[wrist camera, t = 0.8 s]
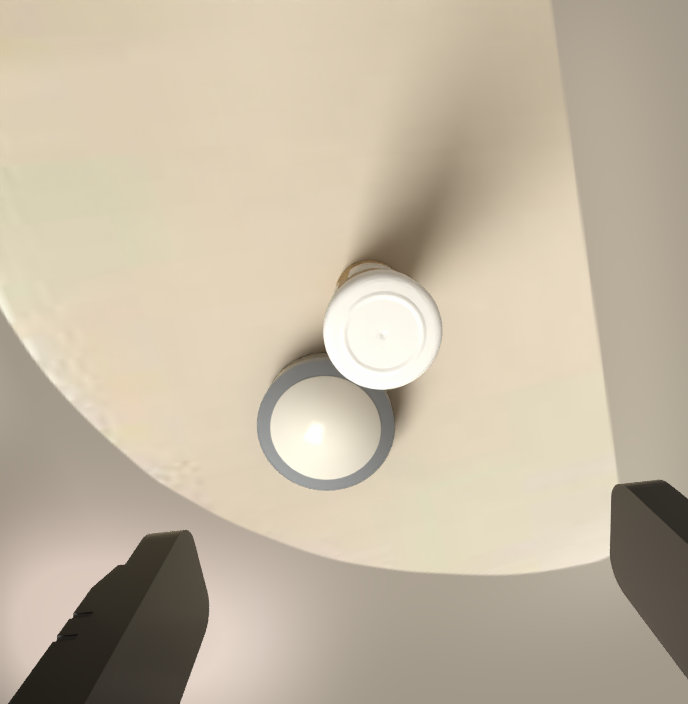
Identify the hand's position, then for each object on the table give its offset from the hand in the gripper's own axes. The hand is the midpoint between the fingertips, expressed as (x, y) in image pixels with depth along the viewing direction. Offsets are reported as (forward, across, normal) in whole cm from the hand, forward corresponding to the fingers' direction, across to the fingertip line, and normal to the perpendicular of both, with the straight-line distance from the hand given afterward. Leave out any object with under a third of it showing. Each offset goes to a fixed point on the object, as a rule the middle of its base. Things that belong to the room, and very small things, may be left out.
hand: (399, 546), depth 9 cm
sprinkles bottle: (+23, 0, -2) cm, 23 cm away
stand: (+22, +3, +6) cm, 23 cm away
